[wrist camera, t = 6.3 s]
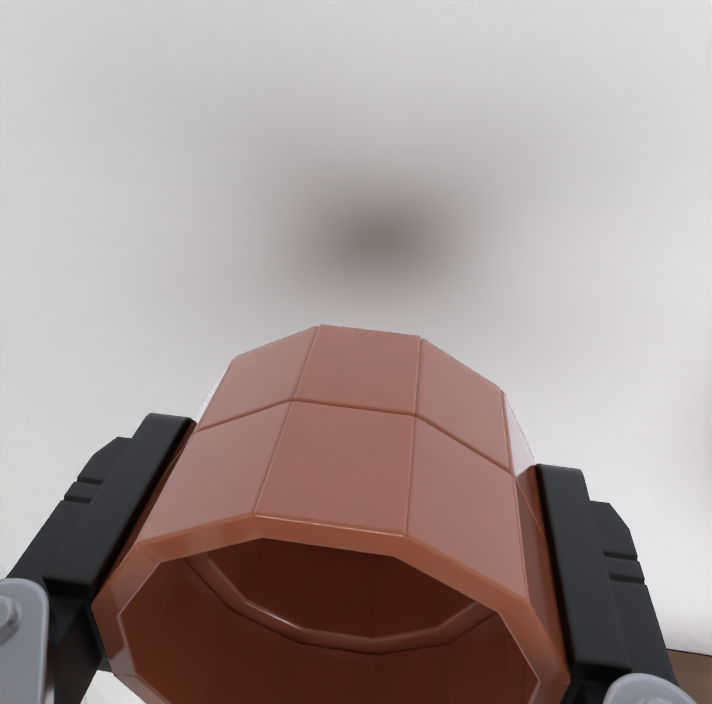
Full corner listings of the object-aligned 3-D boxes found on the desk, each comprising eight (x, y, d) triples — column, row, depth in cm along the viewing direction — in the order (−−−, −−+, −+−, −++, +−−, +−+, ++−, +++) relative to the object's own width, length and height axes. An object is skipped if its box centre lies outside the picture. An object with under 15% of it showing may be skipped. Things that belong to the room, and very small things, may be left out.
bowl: (219, 532, 14) (134, 747, 10) (192, 292, 10) (47, 484, 7) (492, 571, 13) (509, 812, 10) (561, 334, 10) (629, 566, 6)
